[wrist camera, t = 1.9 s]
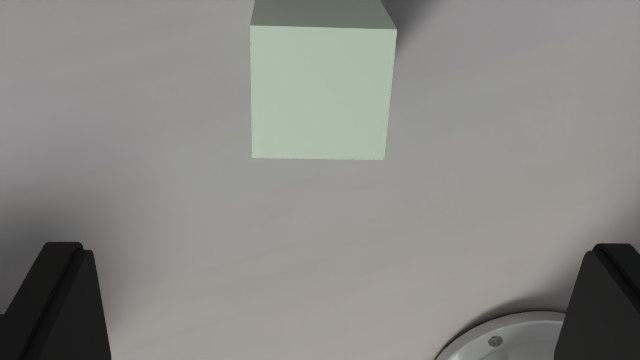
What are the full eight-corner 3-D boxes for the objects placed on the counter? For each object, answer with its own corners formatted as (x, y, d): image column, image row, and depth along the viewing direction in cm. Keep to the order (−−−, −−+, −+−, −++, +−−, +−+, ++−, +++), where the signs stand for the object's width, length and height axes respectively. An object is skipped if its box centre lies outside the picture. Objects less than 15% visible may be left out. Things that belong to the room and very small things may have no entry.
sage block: (372, -14, 27) (397, 29, 21) (363, 93, 30) (383, 159, 23) (258, -18, 27) (250, 25, 21) (259, 91, 29) (252, 157, 23)
